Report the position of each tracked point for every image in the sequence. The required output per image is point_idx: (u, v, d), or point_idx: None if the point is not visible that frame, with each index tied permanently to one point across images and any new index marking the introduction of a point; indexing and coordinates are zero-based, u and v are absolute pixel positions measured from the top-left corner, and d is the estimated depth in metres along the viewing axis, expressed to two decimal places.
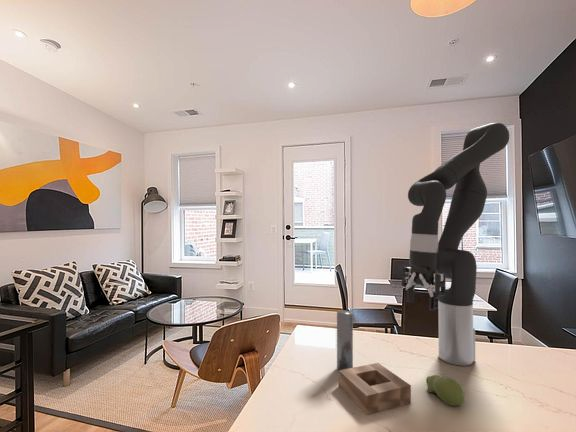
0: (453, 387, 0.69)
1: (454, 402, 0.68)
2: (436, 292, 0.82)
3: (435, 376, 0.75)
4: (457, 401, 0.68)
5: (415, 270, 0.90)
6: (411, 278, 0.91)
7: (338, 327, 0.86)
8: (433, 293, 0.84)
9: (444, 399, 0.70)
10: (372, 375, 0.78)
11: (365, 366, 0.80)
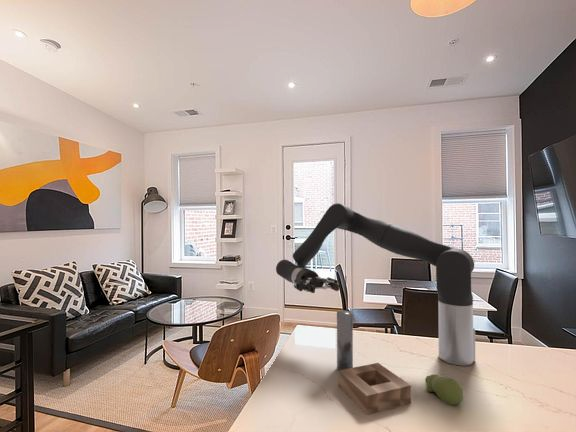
0: (453, 386, 0.69)
1: (453, 402, 0.69)
2: None
3: (434, 375, 0.76)
4: (456, 400, 0.69)
5: None
6: None
7: (338, 327, 0.86)
8: (304, 289, 0.99)
9: (443, 398, 0.70)
10: (372, 375, 0.78)
11: (365, 366, 0.80)
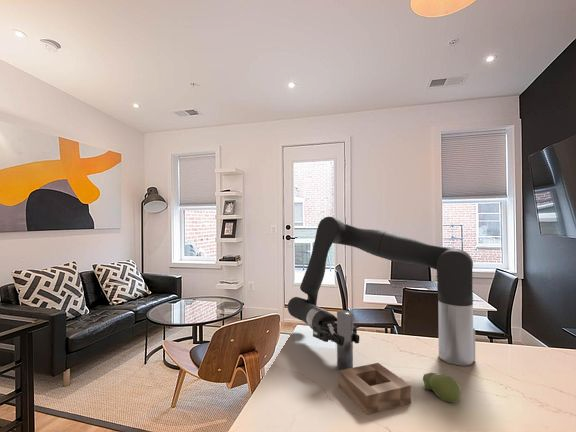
0: (450, 384, 0.70)
1: (450, 399, 0.70)
2: None
3: (432, 373, 0.77)
4: (453, 398, 0.70)
5: None
6: None
7: (338, 327, 0.86)
8: (330, 340, 0.87)
9: (441, 396, 0.71)
10: (372, 375, 0.78)
11: (365, 366, 0.80)
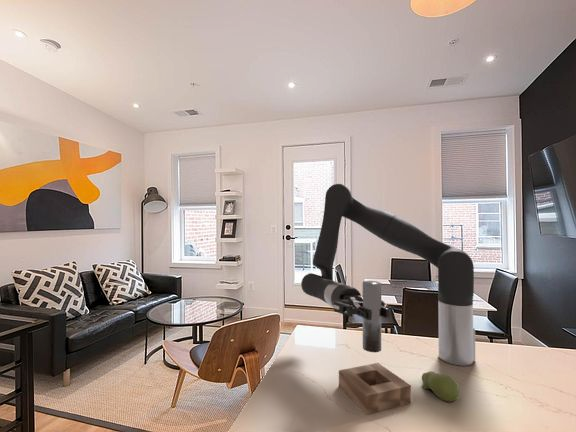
0: (449, 383, 0.71)
1: (449, 398, 0.70)
2: None
3: (430, 373, 0.77)
4: (452, 397, 0.70)
5: None
6: None
7: (364, 299, 0.74)
8: (355, 314, 0.75)
9: (439, 395, 0.71)
10: (372, 375, 0.78)
11: (365, 366, 0.80)
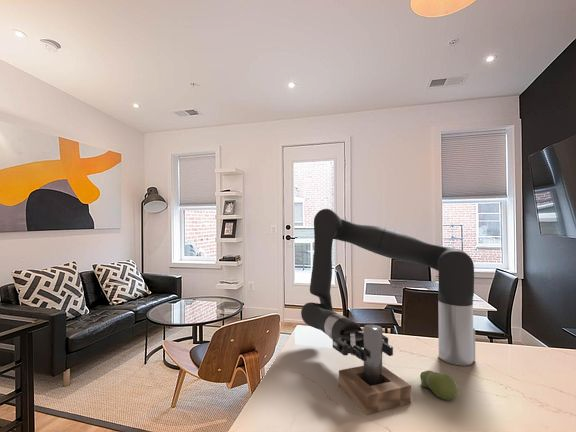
0: (447, 381, 0.71)
1: (447, 396, 0.71)
2: None
3: (429, 371, 0.78)
4: (450, 395, 0.71)
5: None
6: None
7: (365, 345, 0.74)
8: None
9: (437, 393, 0.72)
10: None
11: None
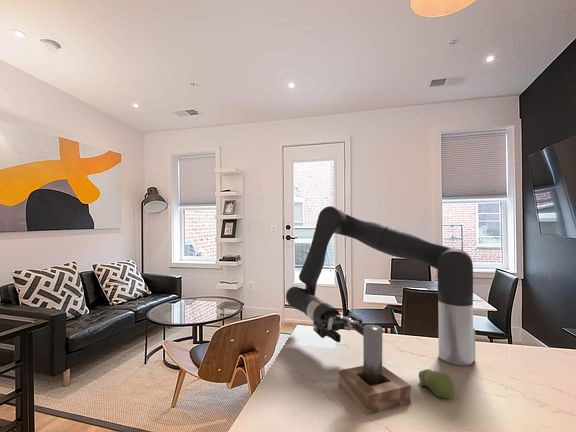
0: (445, 380, 0.72)
1: (445, 395, 0.71)
2: None
3: (427, 370, 0.78)
4: (448, 394, 0.71)
5: None
6: None
7: (365, 345, 0.74)
8: None
9: (436, 392, 0.72)
10: None
11: None
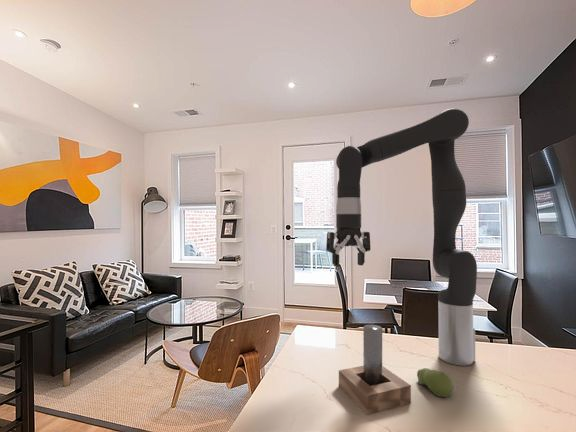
0: (443, 379, 0.73)
1: (443, 394, 0.72)
2: None
3: (425, 369, 0.79)
4: (446, 392, 0.72)
5: None
6: None
7: (365, 345, 0.74)
8: None
9: (434, 390, 0.73)
10: None
11: None
